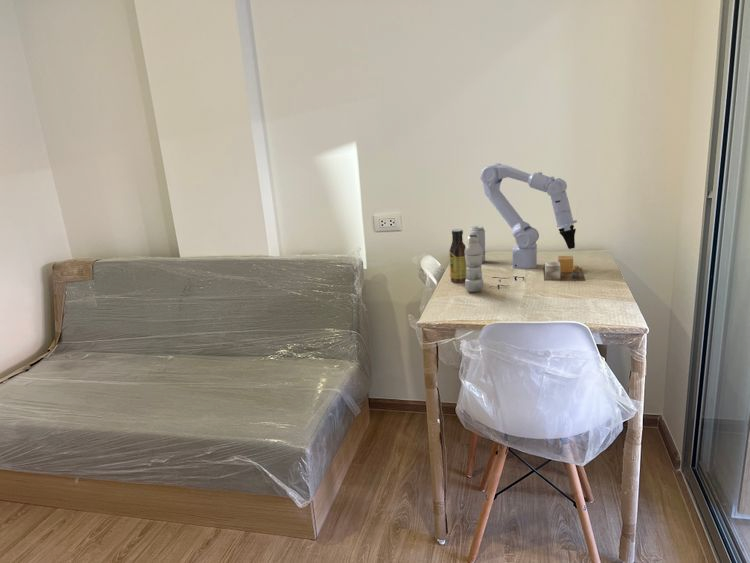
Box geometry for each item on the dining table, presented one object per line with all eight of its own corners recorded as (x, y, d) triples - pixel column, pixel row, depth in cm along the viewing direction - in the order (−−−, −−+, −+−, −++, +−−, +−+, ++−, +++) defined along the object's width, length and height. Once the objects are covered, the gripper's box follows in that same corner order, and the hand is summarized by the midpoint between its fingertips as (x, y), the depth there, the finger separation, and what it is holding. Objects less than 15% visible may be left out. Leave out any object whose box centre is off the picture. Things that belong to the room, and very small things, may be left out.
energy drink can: (487, 262, 225) (486, 227, 221) (472, 264, 225) (472, 229, 220) (483, 259, 231) (482, 224, 226) (469, 260, 231) (468, 226, 226)
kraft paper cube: (558, 272, 202) (559, 259, 201) (558, 268, 207) (558, 255, 205) (572, 272, 201) (573, 259, 199) (571, 268, 205) (572, 255, 204)
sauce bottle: (450, 278, 208) (449, 227, 202) (467, 278, 207) (466, 227, 201) (449, 283, 202) (447, 231, 196) (466, 283, 201) (465, 231, 195)
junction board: (544, 283, 194) (544, 267, 192) (543, 270, 209) (543, 255, 207) (585, 283, 190) (586, 267, 189) (581, 270, 205) (582, 255, 203)
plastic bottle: (463, 293, 190) (461, 238, 184) (467, 287, 196) (465, 233, 190) (481, 294, 187) (480, 238, 182) (485, 288, 193) (484, 234, 188)
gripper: (575, 210, 191) (584, 247, 193) (572, 206, 205) (580, 241, 206) (554, 215, 193) (563, 252, 195) (553, 211, 207) (561, 245, 209)
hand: (571, 246), depth 201 cm, fingers open, 7 cm apart
